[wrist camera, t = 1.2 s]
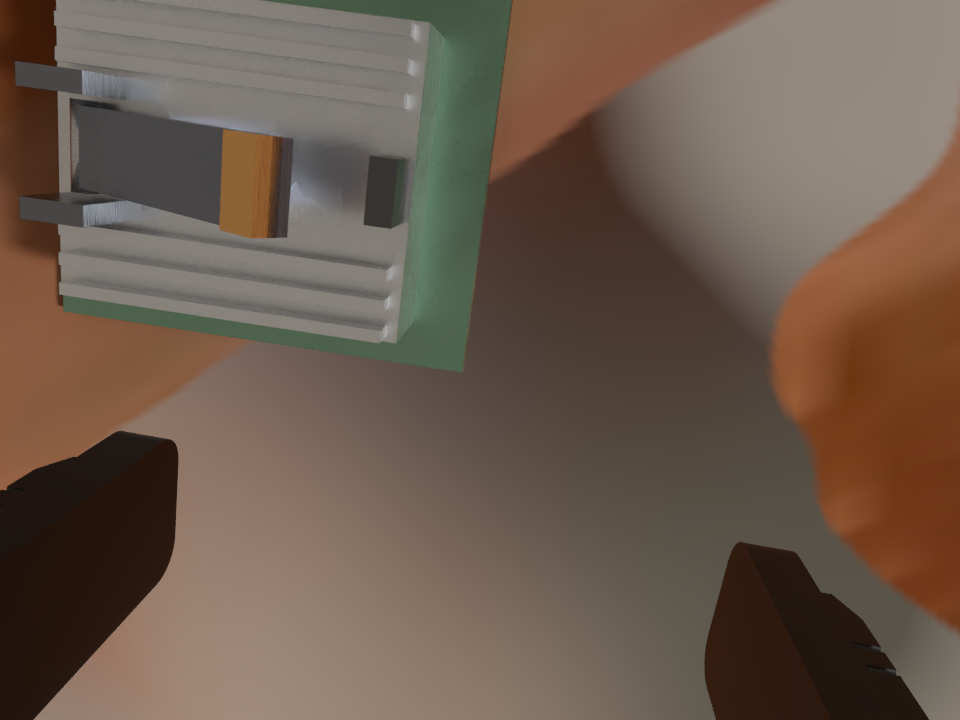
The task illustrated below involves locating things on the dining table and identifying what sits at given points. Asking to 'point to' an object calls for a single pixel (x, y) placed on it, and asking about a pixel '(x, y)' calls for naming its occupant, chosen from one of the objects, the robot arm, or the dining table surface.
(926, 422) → the dining table surface
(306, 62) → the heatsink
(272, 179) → the lever
